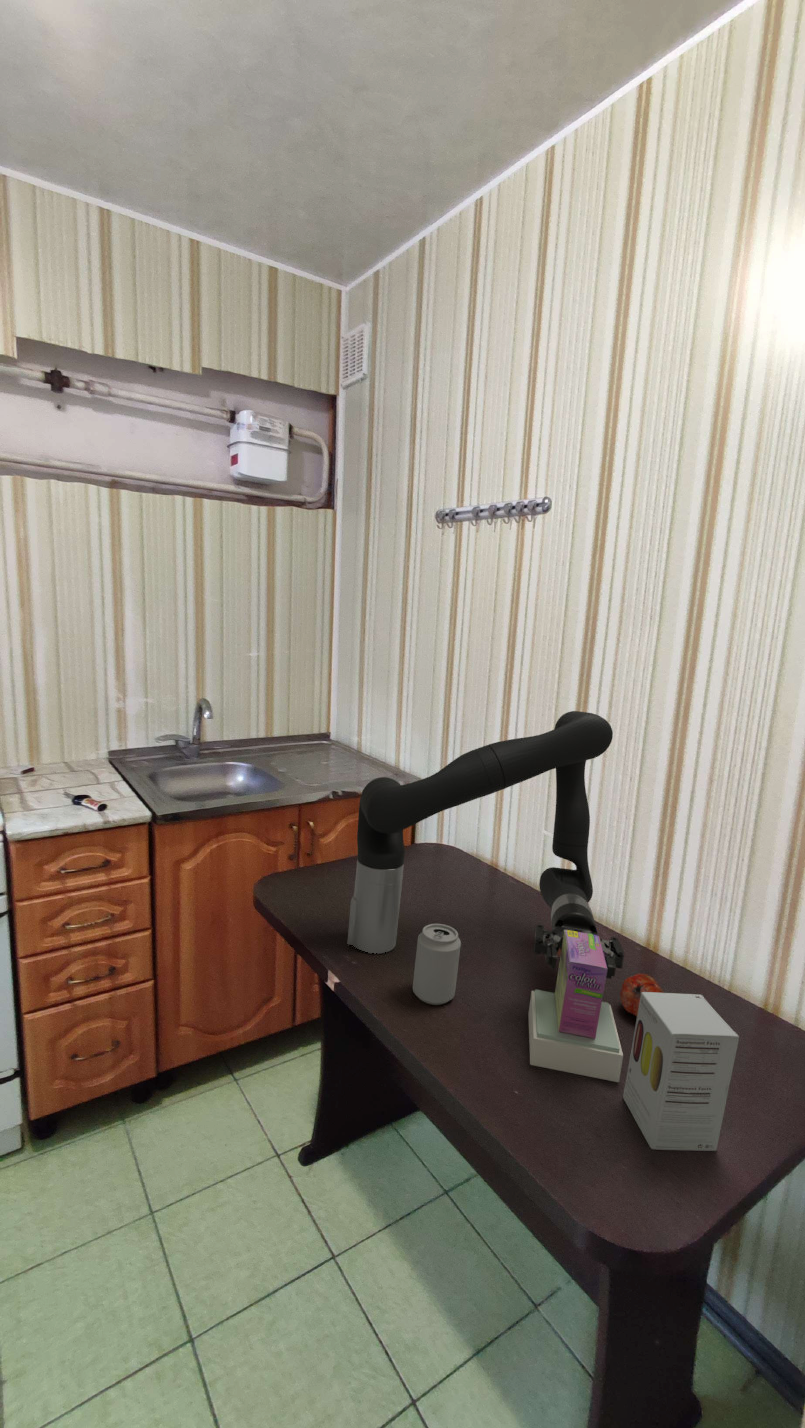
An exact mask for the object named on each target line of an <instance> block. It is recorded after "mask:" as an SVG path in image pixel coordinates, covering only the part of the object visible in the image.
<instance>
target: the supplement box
mask: <svg viewBox="0 0 805 1428" xmlns="http://www.w3.org/2000/svg"><path fill="white" fill-rule="evenodd" d="M635 1021H636V1022H635V1027H634V1033H633V1037H632V1044H631V1050H630V1054H629V1060H628V1066H627V1071H626V1072H627V1073H626V1078H625V1083H624V1090H623V1095H622V1098H623V1100H624V1102H625V1104H626V1105H627V1107H628V1109H629V1111H630V1113H631V1114H632V1117H633V1118H634V1120H635V1122H636V1124H637V1126H638V1128H639V1130H640V1132H641V1133H642V1135H643V1137H644V1139H645V1140H646V1143H647V1144H648V1146H649V1148H650V1149H651V1150H658V1151H660V1150H662V1151H694V1152H695V1151H698V1152H699V1151H701V1152H702V1151H703V1152H707V1151H708V1152H710V1151H711V1152H716V1151H717V1148H718V1144H719V1139H720V1135H721V1134H720V1133H721V1128H722V1125H723V1120H724V1115H725V1109H726V1105H727V1099H728V1093H729V1090H730V1089H729V1088H730V1084H731V1081H732V1080H731V1079H732V1074H733V1070H734V1064H735V1059H736V1055H737V1049H738V1046H739V1039H740V1036H739V1035H738V1033H737V1032H736V1031H734V1029H732V1028H731V1026H730V1025H729V1024H728V1023H727V1022H726V1021H725V1020H724V1018H722V1017H721V1015H720V1014H719V1013H718V1012H717V1011H716V1010H715V1009H714V1008H713V1007H712V1005H711V1004H710V1003H709V1002H708V1001H707V999H706V998H705V997H704V995H703V994H694V993H675V992H674V993H673V992H664V993H656V992H642V993H641V996H640V1002H639V1008H638V1014H637V1017H636V1020H635Z"/></svg>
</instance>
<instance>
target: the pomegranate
mask: <svg viewBox="0 0 805 1428" xmlns="http://www.w3.org/2000/svg"><path fill="white" fill-rule="evenodd" d="M642 992H656V993H665V992H664V990H663V989H662V988H661V987H660V985H659V983H658V982H657V980H656V979H655V978H654V977H652V976H651V975H649V974H644V973H637V974H635V975H632V976H628V977H627V978H625V980H624V981H623V983H622V986H621V989H620V991H619V994H620V1002H621V1004H622V1006H623V1008H624V1009H625V1010H626V1011H627V1013H629V1014H631V1015H634V1016H635V1017H636V1018H637V1014H638V1008H639V1002H640V996H641V993H642Z"/></svg>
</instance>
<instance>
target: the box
mask: <svg viewBox="0 0 805 1428" xmlns="http://www.w3.org/2000/svg"><path fill="white" fill-rule="evenodd" d="M600 937H601V936H600ZM600 937H599V935H598V936H597V935H593V934H588V933H582V932H576V931H570V930H564V936H563V943H562V950H561V956H559V957H560V958H559V963H558V969H557V970H558V971H557V977H556V984H555V991H554V993H555V1000H556V1009H557V1020H558V1031H559V1032H562V1033H566V1034H571V1035H576V1036H581V1037H586V1038H591V1039H595V1038H596V1032H597V1026H598V1021H599V1015H600V1009H601V1003H602V1002H603V997H604V991H605V986H606V980H607V978H606V976H607V965H606V961H605V954H604V953H603V949H602V945H601V941H600Z"/></svg>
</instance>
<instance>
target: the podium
mask: <svg viewBox="0 0 805 1428" xmlns="http://www.w3.org/2000/svg"><path fill="white" fill-rule="evenodd" d="M527 1015H528V1016H527V1017H528V1039H529V1040H528V1042H529V1043H528V1044H529V1045H528V1046H529V1064H530V1066H534V1067H539V1068H546V1069H550V1070H555V1071H560V1072H564V1073H569V1074H570V1073H571V1074H575V1075H580V1076H586V1077H590V1078H594V1079H600V1080H606V1081H609V1082H614V1083H619V1082H620V1078H621V1071H622V1065H623V1061H624V1060H623V1059H624V1053H623V1050H622V1045H621V1042H620V1038H619V1037H620V1036H619V1034H618V1030H617V1025H616V1021H615V1018H614V1017H615V1016H614V1012H613V1009H612V1005H611V1004H609V1002H605V1001H602V1003H601V1009H600V1015H599V1021H598V1026H597V1032H596V1038H595V1039H591V1038H586V1037H581V1036H576V1035H571V1034H566V1033H562V1032H559V1031H558V1020H557V1009H556V1000H555V992H551V991H545V990H541V989H534V990H531V993H530V1001H529V1007H528V1014H527Z"/></svg>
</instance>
